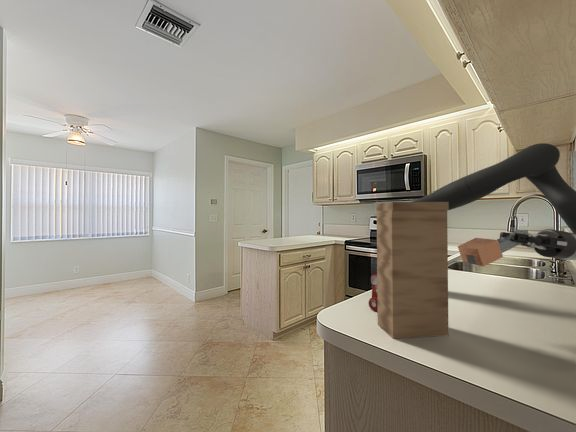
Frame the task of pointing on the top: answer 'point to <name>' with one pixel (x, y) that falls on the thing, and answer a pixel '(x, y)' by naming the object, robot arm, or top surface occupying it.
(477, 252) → the orange and gray block
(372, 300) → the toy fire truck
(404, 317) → the walnut pedestal
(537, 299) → the top surface
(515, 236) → the robot arm
